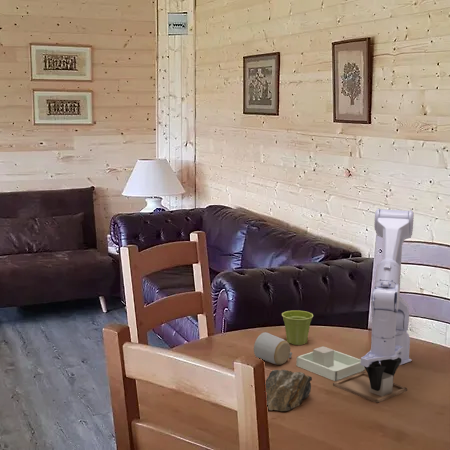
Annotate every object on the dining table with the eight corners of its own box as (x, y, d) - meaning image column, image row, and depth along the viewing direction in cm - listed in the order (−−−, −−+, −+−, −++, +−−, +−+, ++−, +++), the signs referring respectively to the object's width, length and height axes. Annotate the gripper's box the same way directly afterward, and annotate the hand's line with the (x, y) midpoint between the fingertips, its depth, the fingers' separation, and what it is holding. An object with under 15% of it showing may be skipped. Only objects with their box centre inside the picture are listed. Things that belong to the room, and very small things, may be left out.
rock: (282, 417, 163) (293, 376, 163) (244, 399, 169) (254, 359, 169) (311, 408, 175) (321, 370, 174) (274, 392, 181) (283, 354, 181)
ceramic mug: (275, 369, 193) (276, 341, 191) (252, 361, 198) (253, 335, 197) (299, 359, 200) (300, 333, 199) (276, 352, 206) (277, 327, 205)
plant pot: (278, 337, 218) (279, 310, 217) (308, 336, 219) (309, 309, 218) (284, 347, 209) (285, 319, 208) (315, 346, 210) (316, 318, 209)
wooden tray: (363, 375, 188) (363, 371, 188) (407, 391, 178) (407, 388, 177) (332, 386, 181) (333, 383, 180) (376, 404, 170) (377, 400, 170)
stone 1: (322, 361, 197) (323, 346, 196) (333, 365, 194) (334, 350, 193) (312, 364, 195) (313, 349, 194) (323, 369, 191) (324, 353, 191)
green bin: (325, 357, 201) (326, 347, 201) (364, 371, 191) (365, 361, 190) (296, 367, 194) (296, 356, 193) (335, 382, 183) (335, 371, 183)
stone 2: (379, 387, 179) (380, 370, 178) (392, 392, 176) (393, 375, 175) (369, 391, 177) (370, 374, 176) (382, 396, 174) (383, 379, 173)
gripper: (377, 345, 166) (375, 399, 169) (414, 333, 175) (412, 384, 178) (354, 337, 172) (352, 390, 174) (391, 326, 181) (389, 376, 183)
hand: (381, 387), depth 176 cm, fingers closed on stone 2, 4 cm apart
